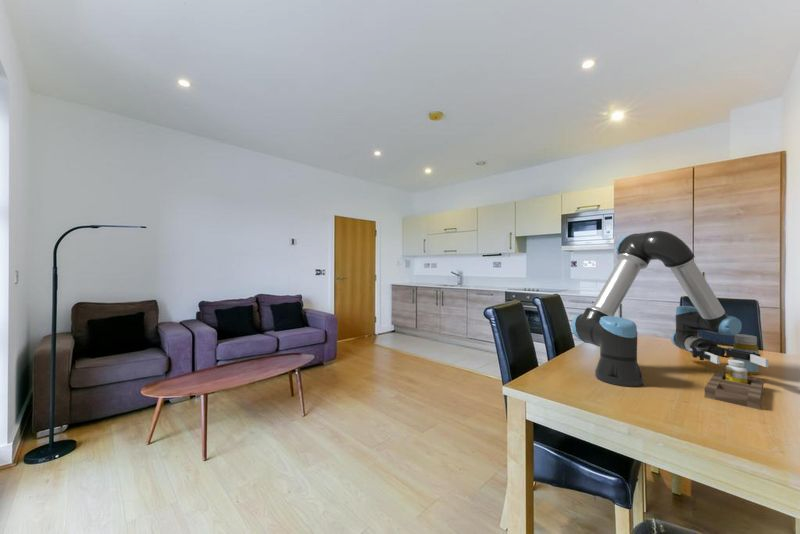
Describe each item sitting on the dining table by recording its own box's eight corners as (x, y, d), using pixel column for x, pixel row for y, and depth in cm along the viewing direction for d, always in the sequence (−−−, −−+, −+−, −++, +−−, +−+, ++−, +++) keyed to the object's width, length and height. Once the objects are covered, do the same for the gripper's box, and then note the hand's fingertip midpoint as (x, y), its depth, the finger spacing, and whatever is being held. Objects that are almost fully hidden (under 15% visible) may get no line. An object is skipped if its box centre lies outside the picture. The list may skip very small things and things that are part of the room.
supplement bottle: (748, 392, 108) (748, 364, 108) (726, 388, 111) (726, 361, 112) (745, 387, 112) (745, 360, 112) (724, 384, 116) (724, 358, 116)
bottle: (746, 369, 132) (746, 334, 132) (764, 375, 125) (763, 337, 125) (728, 369, 132) (728, 333, 133) (744, 374, 126) (744, 337, 126)
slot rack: (759, 409, 95) (759, 399, 95) (704, 397, 104) (704, 387, 104) (763, 388, 111) (763, 380, 111) (715, 379, 120) (715, 371, 120)
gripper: (739, 358, 127) (788, 375, 106) (665, 354, 133) (699, 369, 113) (739, 339, 127) (788, 353, 106) (665, 336, 133) (698, 348, 113)
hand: (742, 361), depth 109 cm, fingers open, 13 cm apart
